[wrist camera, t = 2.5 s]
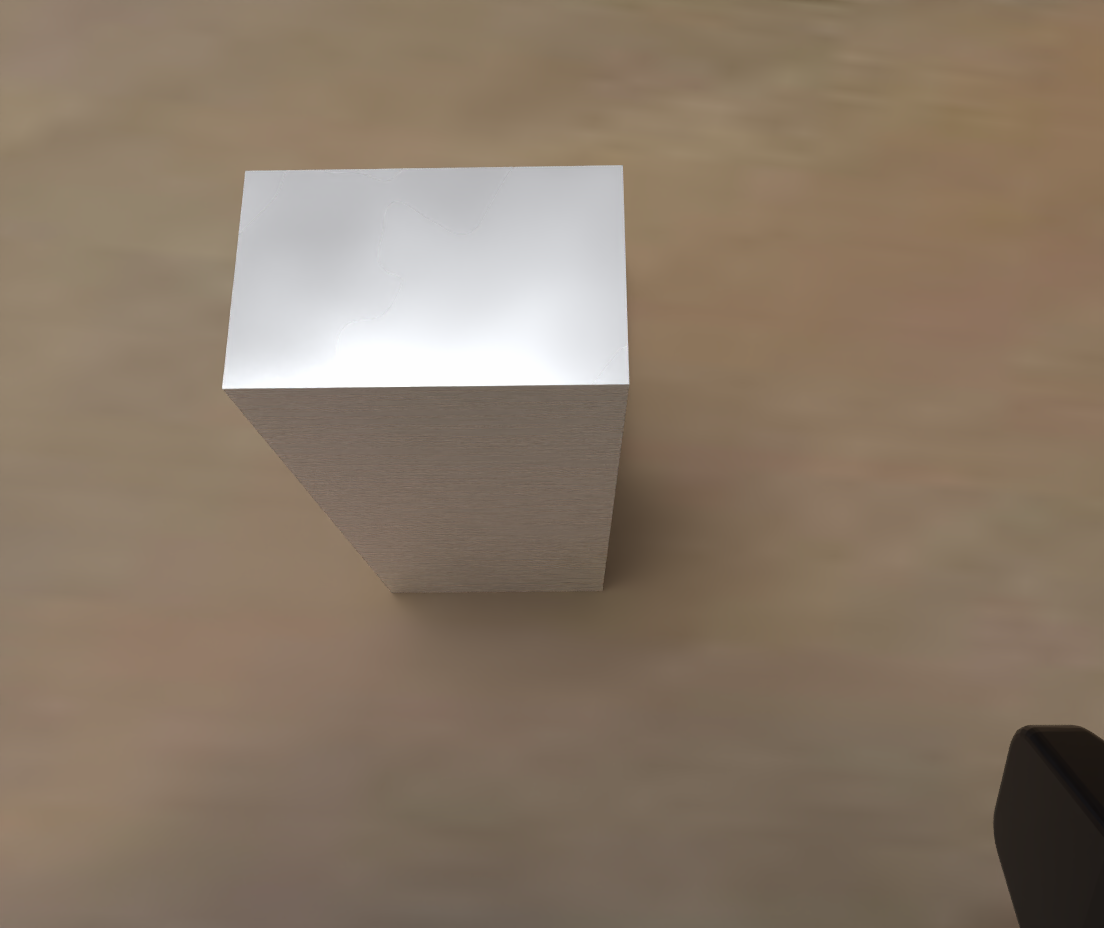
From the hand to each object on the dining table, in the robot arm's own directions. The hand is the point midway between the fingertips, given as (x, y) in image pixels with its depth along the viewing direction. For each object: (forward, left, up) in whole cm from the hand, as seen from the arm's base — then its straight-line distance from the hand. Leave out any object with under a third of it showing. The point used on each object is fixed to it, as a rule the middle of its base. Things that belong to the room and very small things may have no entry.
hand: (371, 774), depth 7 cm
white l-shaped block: (+4, -6, -12) cm, 14 cm away
